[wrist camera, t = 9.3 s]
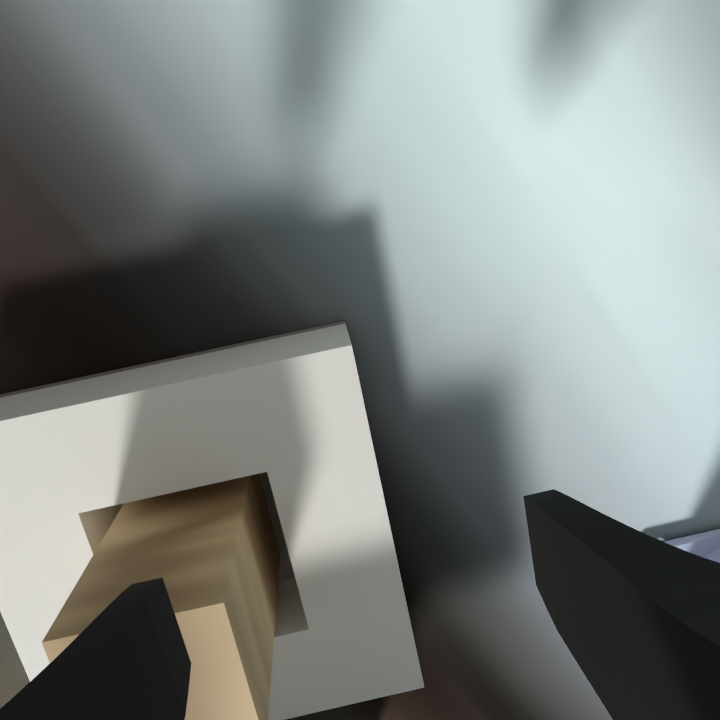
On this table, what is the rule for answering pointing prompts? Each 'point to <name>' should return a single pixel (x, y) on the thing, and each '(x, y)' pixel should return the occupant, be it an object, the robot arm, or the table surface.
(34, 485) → the socket block
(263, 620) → the oak peg
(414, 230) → the table surface
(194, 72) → the table surface
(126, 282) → the table surface
